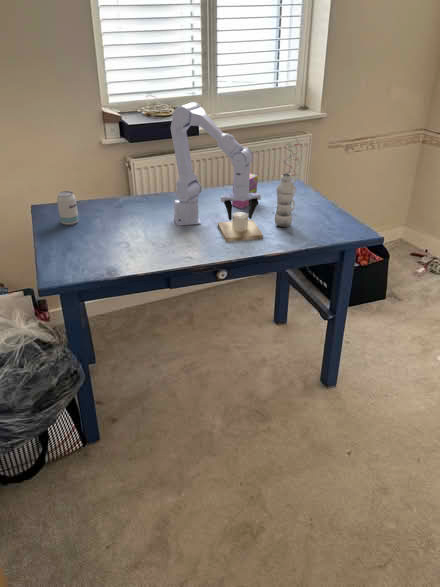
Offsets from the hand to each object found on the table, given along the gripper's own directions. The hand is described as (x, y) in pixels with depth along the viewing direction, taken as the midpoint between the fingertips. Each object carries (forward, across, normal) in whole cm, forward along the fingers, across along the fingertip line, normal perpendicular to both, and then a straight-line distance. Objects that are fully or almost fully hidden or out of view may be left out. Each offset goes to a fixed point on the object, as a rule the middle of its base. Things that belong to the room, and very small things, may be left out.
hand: (240, 218), depth 188 cm
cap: (+4, 0, 0) cm, 4 cm away
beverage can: (+6, -63, +21) cm, 67 cm away
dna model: (+6, +24, +16) cm, 29 cm away
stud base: (+6, 0, 0) cm, 6 cm away
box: (+6, +9, +28) cm, 30 cm away
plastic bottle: (+6, +18, +3) cm, 19 cm away
